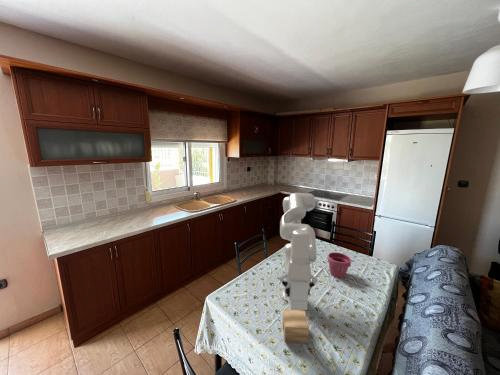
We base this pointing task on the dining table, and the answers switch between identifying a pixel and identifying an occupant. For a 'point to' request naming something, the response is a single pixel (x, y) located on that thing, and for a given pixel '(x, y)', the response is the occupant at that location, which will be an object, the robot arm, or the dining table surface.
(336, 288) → the dining table surface
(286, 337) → the tower base
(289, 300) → the supplement box
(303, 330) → the tower top
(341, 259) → the plant pot
